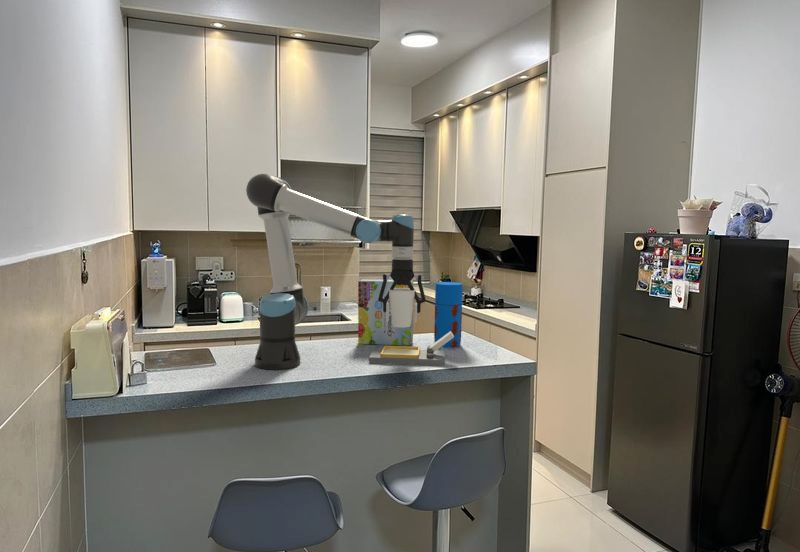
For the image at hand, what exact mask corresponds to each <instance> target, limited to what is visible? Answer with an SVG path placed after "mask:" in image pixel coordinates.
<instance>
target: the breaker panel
mask: <svg viewBox="0 0 800 552" xmlns="http://www.w3.org/2000/svg"><path fill="white" fill-rule="evenodd" d="M368 363H370V364H386V363H395V364H394V365H414V364H419V365H418V366H421V365H422V366H441V365H443V367H445V350H443V349H442V350H441V349H440V350H439V349H437V350H436V351H435V352H433V354H431V353H428V354H427V349H421V346H411V345H410V346H408V345H383V348H382V347H381V348H380V347H373V349H372V351H371V353H370V355H369V357H368Z"/></svg>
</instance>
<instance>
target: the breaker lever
mask: <svg viewBox="0 0 800 552" xmlns="http://www.w3.org/2000/svg"><path fill="white" fill-rule="evenodd" d="M452 338H454V335H453V334H452V332H451V331H450V332H449V333H447V334H446V335H445V336H443V337H442V338H441V339H439V340H438V341H436V342H435V343H433V344H431V345H428V346H427V347H426V350H427V354H428V353H431V354H433V352H435V351H436V350H439V349H440V348H441V346H443V345H444V344H446V343H447V342H448V341H450V340H451V339H452Z"/></svg>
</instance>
